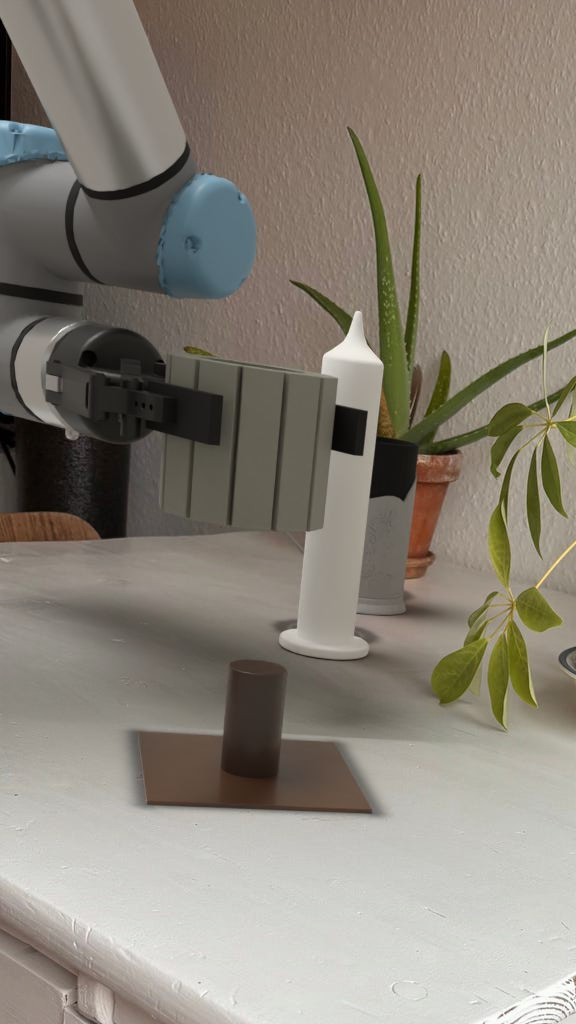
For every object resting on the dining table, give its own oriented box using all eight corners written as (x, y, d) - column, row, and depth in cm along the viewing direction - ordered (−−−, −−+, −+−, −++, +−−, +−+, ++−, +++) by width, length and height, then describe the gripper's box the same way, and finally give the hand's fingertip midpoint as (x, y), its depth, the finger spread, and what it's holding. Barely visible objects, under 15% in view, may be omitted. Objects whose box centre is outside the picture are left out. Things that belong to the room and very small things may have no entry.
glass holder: (418, 617, 119) (440, 450, 114) (269, 608, 114) (284, 431, 108) (388, 596, 127) (407, 438, 121) (246, 587, 121) (259, 420, 116)
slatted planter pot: (164, 520, 75) (174, 356, 71) (154, 496, 83) (162, 349, 80) (334, 538, 78) (350, 381, 75) (307, 513, 87) (320, 372, 83)
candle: (293, 658, 98) (327, 304, 89) (268, 635, 104) (297, 301, 95) (380, 661, 101) (421, 320, 92) (351, 639, 107) (387, 316, 98)
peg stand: (145, 829, 62) (152, 688, 59) (136, 756, 71) (142, 632, 69) (369, 837, 65) (385, 704, 63) (331, 766, 75) (344, 648, 72)
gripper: (226, 446, 99) (422, 498, 85) (-66, 425, 83) (118, 484, 69) (233, 342, 96) (437, 378, 82) (-66, 300, 80) (125, 336, 66)
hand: (292, 427), depth 76 cm, fingers closed on slatted planter pot, 10 cm apart
